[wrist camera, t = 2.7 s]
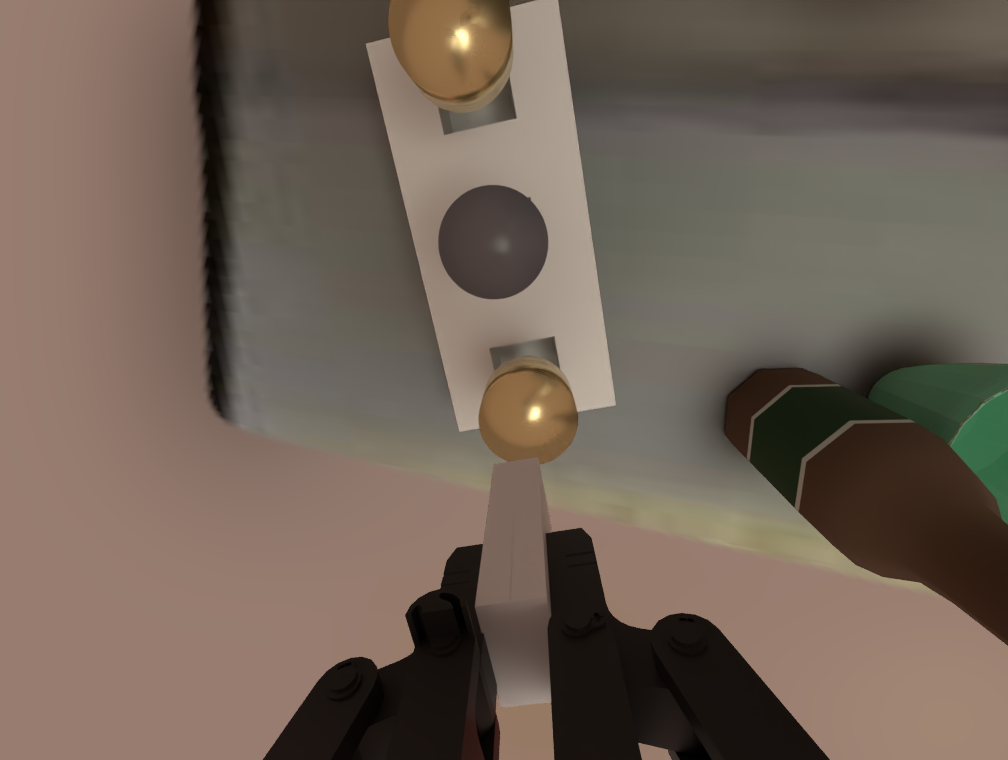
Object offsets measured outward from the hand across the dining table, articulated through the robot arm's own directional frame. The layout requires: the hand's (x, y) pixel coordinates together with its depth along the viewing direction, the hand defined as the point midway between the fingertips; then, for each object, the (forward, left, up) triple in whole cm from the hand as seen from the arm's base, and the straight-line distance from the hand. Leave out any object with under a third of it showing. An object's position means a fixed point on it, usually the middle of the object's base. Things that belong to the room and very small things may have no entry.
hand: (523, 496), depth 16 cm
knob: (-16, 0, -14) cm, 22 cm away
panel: (-8, 0, -20) cm, 22 cm away
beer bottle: (+8, +17, -21) cm, 28 cm away
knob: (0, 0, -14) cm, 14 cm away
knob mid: (-8, 0, -14) cm, 17 cm away
